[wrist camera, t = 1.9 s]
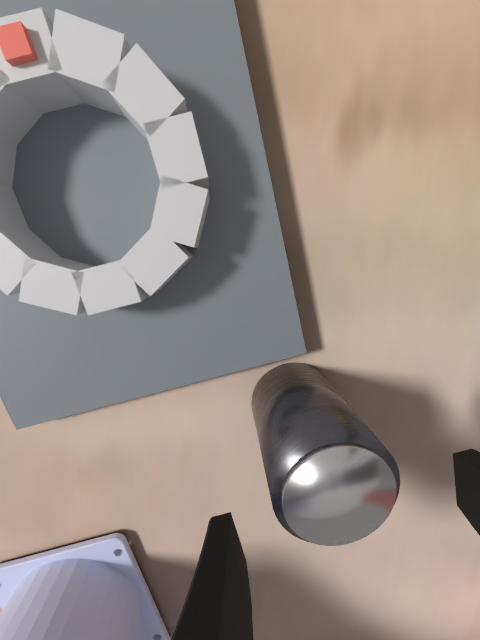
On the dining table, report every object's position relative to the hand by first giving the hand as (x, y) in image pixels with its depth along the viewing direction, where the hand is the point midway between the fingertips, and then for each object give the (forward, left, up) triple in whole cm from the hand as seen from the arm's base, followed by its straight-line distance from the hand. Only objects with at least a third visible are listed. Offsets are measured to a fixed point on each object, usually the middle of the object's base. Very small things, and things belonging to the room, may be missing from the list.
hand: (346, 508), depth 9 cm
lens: (0, 0, -7) cm, 7 cm away
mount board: (+12, +6, -7) cm, 15 cm away
